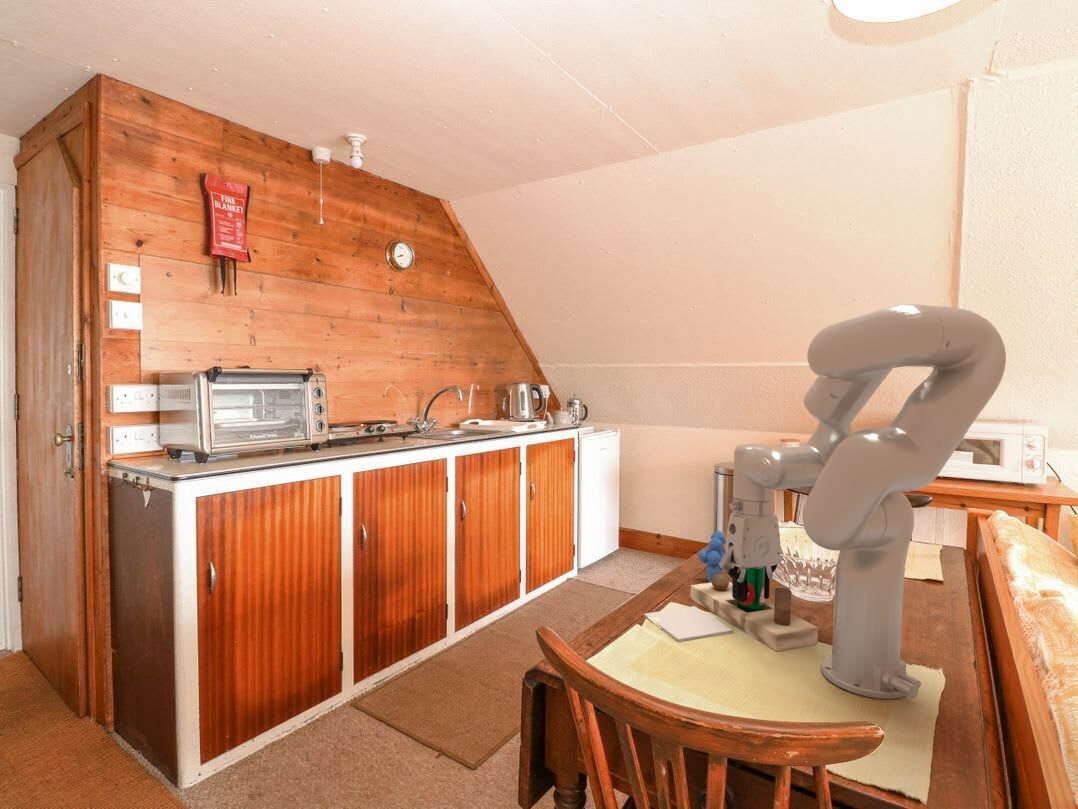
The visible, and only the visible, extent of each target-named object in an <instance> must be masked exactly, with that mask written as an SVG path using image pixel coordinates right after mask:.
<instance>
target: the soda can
mask: <svg viewBox="0 0 1078 809" xmlns="http://www.w3.org/2000/svg"><path fill="white" fill-rule="evenodd" d="M739 569H740V568H738V571H737V572H738V573H739ZM743 582H746V601H745V602H743V603H742V602H740V601H738V600H737V608H739V609H741V610H743V611H744V612H746V613H749V612H755V611H761V610H764V600H765V598H764V592H765V567H758V568H750V569H746V573H745V577H744V580H743Z"/></svg>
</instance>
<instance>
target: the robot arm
mask: <svg viewBox="0 0 1078 809" xmlns="http://www.w3.org/2000/svg"><path fill="white" fill-rule="evenodd" d="M806 354H807V356H806V358H807V363H808V365H809V368H810V370H811V372H813V373H814V374H815V375H817V377H816V379H815V380H814V382H813V383H812V384H811V386H810V387H809V389H808V390H807V392H806V393H805V395H804V397H803V404H804V407H805V408H806V410H807V412H808V413H809V414H810V415H811V416H812V417H813V418H815V419H816V420H817V421H819V422H818V425H817V427H816V429H815V431H814V432H813V433H812V435H811V437H810V438H809V439H808V441H807V442H806V443H805V444H804V445H803V446H789V447H787V446H786V447H777V448H774V447H772V446H770V445H767V444H761V443H760V444H759V443H743V444H739V445H737V446H736V447H735V449H734V452H733V453H734V454H733V489H732V491H733V492H732V493H733V495H732V502H730V503H729V505H728V506H729V509H730V510H731V511H732V512H731V513H730V516H729V519H728V525H727V528H726V529H727V531H726V538H725V540H726V543H725V550H726V553H725V555H724V556H723V558H722V559H721V561H720V563H719V566H720V567H721V568H722V569H723V571H725V573H727V575H729V578H730V579H732V582H731V583H732V597H733V598H734V599H736V600H738V601H740V602H742V603H743V602H745V601H746V582H743V580H744V577H745V573H746V569H750V568H758V567H765V592H764V600H768V599H770V585H771V582H770V579H773V576H774V575H773V573H774V572H775V571H776V570H777V568H778V566H779V565H780V564H781V563H782V562H783V560H784V557H783V555H782V554H781V535H780V526H779V521H778V517H777V514H776V513H774V506H775V505H774V504H775V502H774V501H775V497H774V496H775V490H778V491H779V490H787V489H789V490H790V489H794V488H805V487H812V489H811V490H810V492H809V494H808V495H807V498H806V501H805V502H804V506H803V511H802V524H803V527H804V529H805V530H804V531H805V533H806V535H807V537H808V538H810V540H811V541H812V542H813V543H814V544H816V545H817V546H818V547H821V548H822V549H826V550H829V551H837V552H838V551H839V553H838V556H837V560H836V568H835V582H834V584H835V585H834V601H833V602H834V603H833V622H832V623H833V625H832V626H833V628H832V649H831V654H829V655H827V656H825V657H824V658H823V659H822V660H821V663H820V670H821V673H822V674H823V676H824V677H825V678H826V679H827V680H828V681H830V682H831V683H832V684H834V685H835V686H837V687H839V688H841V689H842V690H846V691H847V692H850V693H853V694H857V695H860V696H863V697H869V698H874V699H883V700H885V699H887V700H888V699H891V700H893V699H898V698H902V697H905V696H906V697H908V698H911V699H914V698H916V697H917V695H918V693H919V689H920V688H921V685H922V683H921V681H920V680H919V679H918V678H916V677H913V676H910V675H909V674H908V672H907V661H904V660H902V659H901V645H902V644H901V643H902V642H901V640H902V625H903V624H902V623H903V604H904V590H905V589H904V587H905V573H906V562H907V555H908V552H909V547H910V543H911V541H912V536H913V531H914V526H915V514H914V509H913V507H912V504H911V502H910V501H909V499H908V497H907V496H906V495H905V494H904V493H907V492H909V493H910V492H913V491H918V490H921V489H925V488H926V487H928V486H930V484H932V483H933V482H934V481H935V480H936V479H937V477H938V476H939V474H940V473H941V472H942V471H943V468H944V467H945V465H946V464H947V462H948V461H949V460H950V458H951V457H952V456H953V454H954V452H955V450H956V449H957V448H958V446H959V445H960V443H961V442H962V441H963V439H964V438H965V436H966V434H967V433H968V432H969V430H970V428H971V426H972V425H973V424H974V422H975V420H976V419H977V418H978V416H979V415H980V413H981V412H982V411H983V410H984V408H986V406H987V404H988V403H989V402H990V400H991V398H992V397H993V396H994V394H995V392H996V391H997V389H998V387H999V385H1000V384H1001V382H1002V379H1003V376H1004V373H1005V371H1006V370H1005V369H1006V363H1007V360H1006V359H1007V355H1006V354H1007V353H1006V348H1005V344H1004V341H1003V339H1002V337H1001V334H1000V333H999V331H998V329H997V328H996V327H995V326H994V325H993V324H992V323H991V322H990V321H989V320H988V319H987V318H985V317H984V316H981V314H978V313H976V312H974V311H970V310H969V309H968V310H967V309H963V308H958V307H950V306H939V305H936V306H935V305H926V304H917V303H916V304H911V303H908V304H898V305H893V306H888V307H886V308H882V309H879V310H878V309H877V310H875V311H873V312H869V313H866V314H862V315H859V316H855V317H853V318H848V319H845V320H842V321H841V320H840V321H839V322H836V323H833V324H830V325H828V326H826V327H824V328H822V329H821V330H820V331H819V332H818V333H816V335H815V336H814V337H813V339H812V340H811V342H810V343H809V346H808V350H807V353H806ZM903 367H916V368H917V367H918V368H919V367H920V368H932V371H931V373H929V375H928V376H927V377H926V378H925V379H924V380H923V381H922V382H920V384H919V385H918V386H917V387H915V389H913V390H912V392H911V393H910V394H909V395H908V397H907V399H906V400H905V402H904V404H903V406H902V408H901V409H900V410H899V412H898V414H897V415H896V417H895V418H894V419H893V421H892V422H890V424H889V425H888V426H885V427H883V428H881V427H880V428H867V429H862V430H858V431H855V432H853V433H852V424H853V421H854V420H855V419H856V417H857V416H858V414H860V412H861V410H862V409H863V408H864V407H865V405H866V404H867V403H868V401H869V400H870V399H871V397H873V395H874V393H875V392H876V391H877V390H878V388H880V386H881V385H882V383H883V381H885V379H886V378H887V376H888V375H889V374H890V373H891V371H892V370H893V369H895V368H903ZM738 568H740V569H739V573H738Z"/></svg>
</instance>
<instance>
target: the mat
mask: <svg viewBox="0 0 1078 809" xmlns="http://www.w3.org/2000/svg"><path fill="white" fill-rule="evenodd" d="M643 617H645V619H647V618H648V617H659V619H660V622H658V623H657V622H656V623H657V624H658V625H659V626H660V627H661V628H662V629H663V630H664V631H663V630H662V629H661V628H660V629H661V630H662V631H663V632H665V633H666V634H667V635H669V636H670V637H671V638H672V639H674V640H675V641H676V642H678V643H680V642H685V641H691V640H698V639H702V638H708V637H717V636H721V635H727V634H732V633H733V632H734V630H733V629H732V628H730V627H729V626H727V625H725V624H724V623H722V622H720V620H717V619H716V618H714V617H713V616H711V615H710V614H708V613H706V612H704V611H703V610H702V609H700V608H698V607H697V606H695V605H694V606H687V607H681V608H679V607H678V608H674V609H667V610H660V611H654V612H646V613H643Z"/></svg>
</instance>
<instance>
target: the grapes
mask: <svg viewBox="0 0 1078 809" xmlns="http://www.w3.org/2000/svg"><path fill="white" fill-rule="evenodd" d="M707 544H708V545H709V546H708V547H707V548H708V549H702V550H701V551H700V552H699V553H698V554H697V558H698V559H699V561H700V562H701V563H702V564H706V570H705V571H706V574H707V576H706V579H707V581H708V583H711V580H712V577H713V576H714V575H715V574H717V573H722V571H724V569H722V568H721V567H720V566H719V563H720V561H721V559H722V558H723V556H724V555H725V553H726V548H725V547H724V545H726V538H725V536H724V534H723V532H722V531H720V530H716V531H715V532H713V533H711V536H710V540H709V542H708V543H707Z"/></svg>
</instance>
